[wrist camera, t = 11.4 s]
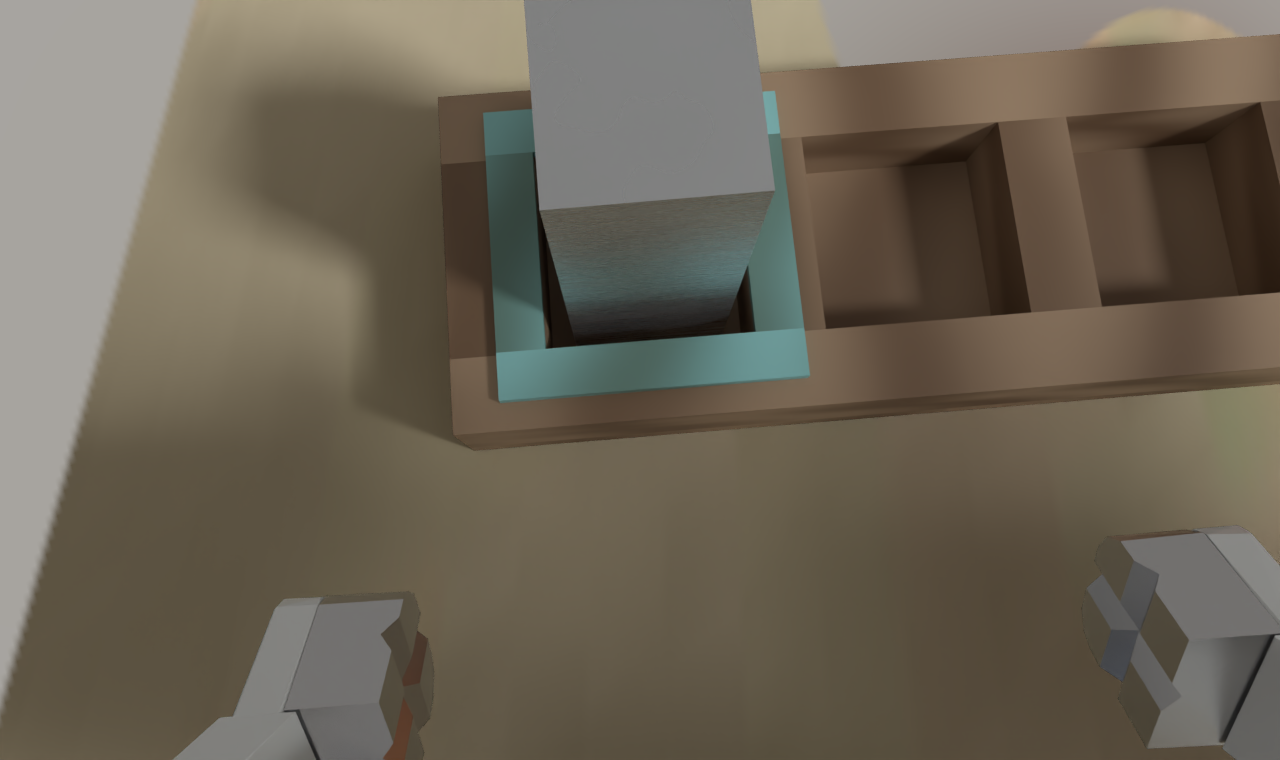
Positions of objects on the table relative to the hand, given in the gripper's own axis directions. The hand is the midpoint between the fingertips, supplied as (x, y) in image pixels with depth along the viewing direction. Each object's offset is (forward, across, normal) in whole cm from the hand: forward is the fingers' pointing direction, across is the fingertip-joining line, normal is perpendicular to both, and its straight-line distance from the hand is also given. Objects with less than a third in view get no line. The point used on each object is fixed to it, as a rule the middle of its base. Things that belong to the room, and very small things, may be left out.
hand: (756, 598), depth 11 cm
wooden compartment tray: (+16, -6, +4) cm, 17 cm away
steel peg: (+15, +1, +3) cm, 16 cm away
